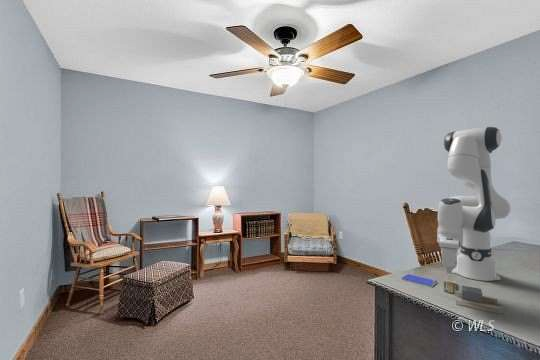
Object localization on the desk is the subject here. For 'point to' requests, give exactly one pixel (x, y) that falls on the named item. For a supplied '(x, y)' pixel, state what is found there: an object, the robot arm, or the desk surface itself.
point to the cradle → (474, 304)
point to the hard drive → (419, 280)
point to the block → (471, 294)
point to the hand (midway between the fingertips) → (449, 272)
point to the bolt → (450, 285)
